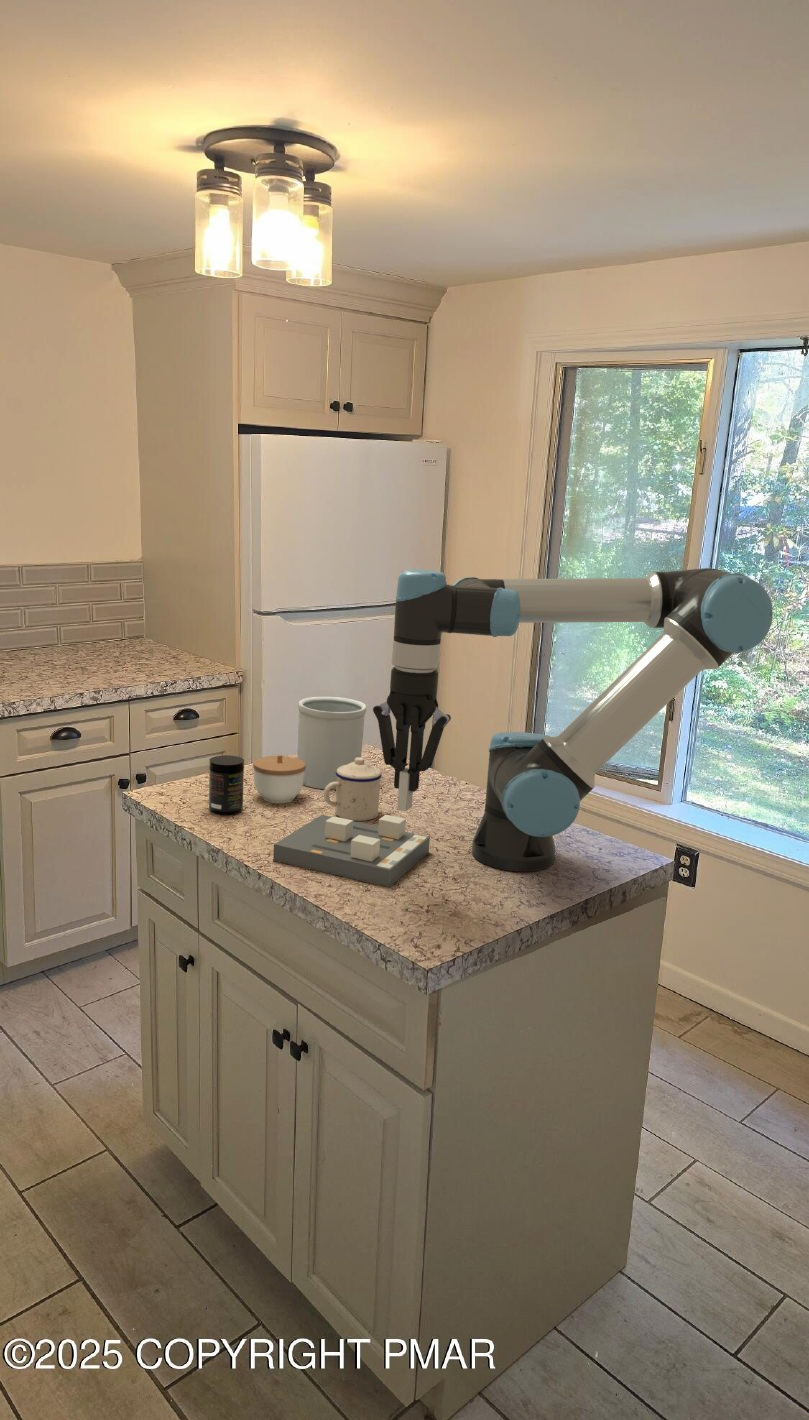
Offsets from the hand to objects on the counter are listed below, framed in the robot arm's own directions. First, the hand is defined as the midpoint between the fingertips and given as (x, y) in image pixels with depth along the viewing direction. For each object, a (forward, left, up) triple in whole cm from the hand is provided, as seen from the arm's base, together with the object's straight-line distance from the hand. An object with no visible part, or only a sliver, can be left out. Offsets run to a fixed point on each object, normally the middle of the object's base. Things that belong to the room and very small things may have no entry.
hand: (404, 808), depth 161 cm
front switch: (+7, 0, -10) cm, 12 cm away
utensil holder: (+36, -44, -13) cm, 58 cm away
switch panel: (+12, -6, -13) cm, 19 cm away
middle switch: (+15, -6, -10) cm, 19 cm away
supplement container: (+44, -15, -13) cm, 48 cm away
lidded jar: (+39, -27, -13) cm, 49 cm away
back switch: (+7, -12, -10) cm, 17 cm away
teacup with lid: (+22, -26, -13) cm, 36 cm away
